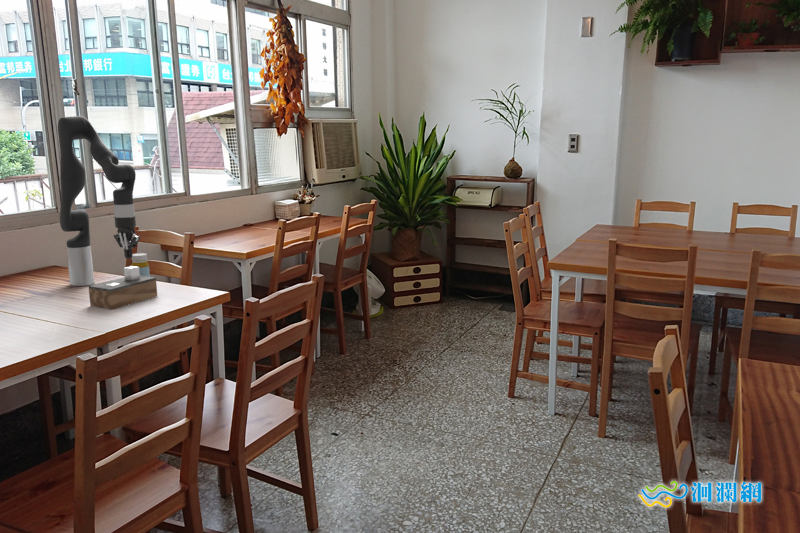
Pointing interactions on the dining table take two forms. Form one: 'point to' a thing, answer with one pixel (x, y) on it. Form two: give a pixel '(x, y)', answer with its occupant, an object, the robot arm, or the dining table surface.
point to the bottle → (141, 263)
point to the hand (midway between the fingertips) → (128, 258)
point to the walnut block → (122, 292)
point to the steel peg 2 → (131, 273)
